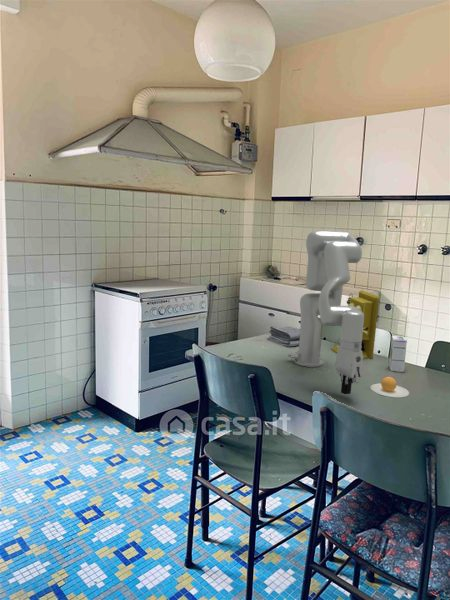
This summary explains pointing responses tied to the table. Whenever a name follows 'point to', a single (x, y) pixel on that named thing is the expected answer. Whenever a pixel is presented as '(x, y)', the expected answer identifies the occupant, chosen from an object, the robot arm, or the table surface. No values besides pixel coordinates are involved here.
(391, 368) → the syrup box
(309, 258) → the robot arm
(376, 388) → the disc
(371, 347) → the vintage telephone
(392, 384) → the ball
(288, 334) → the towel
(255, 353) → the table surface
